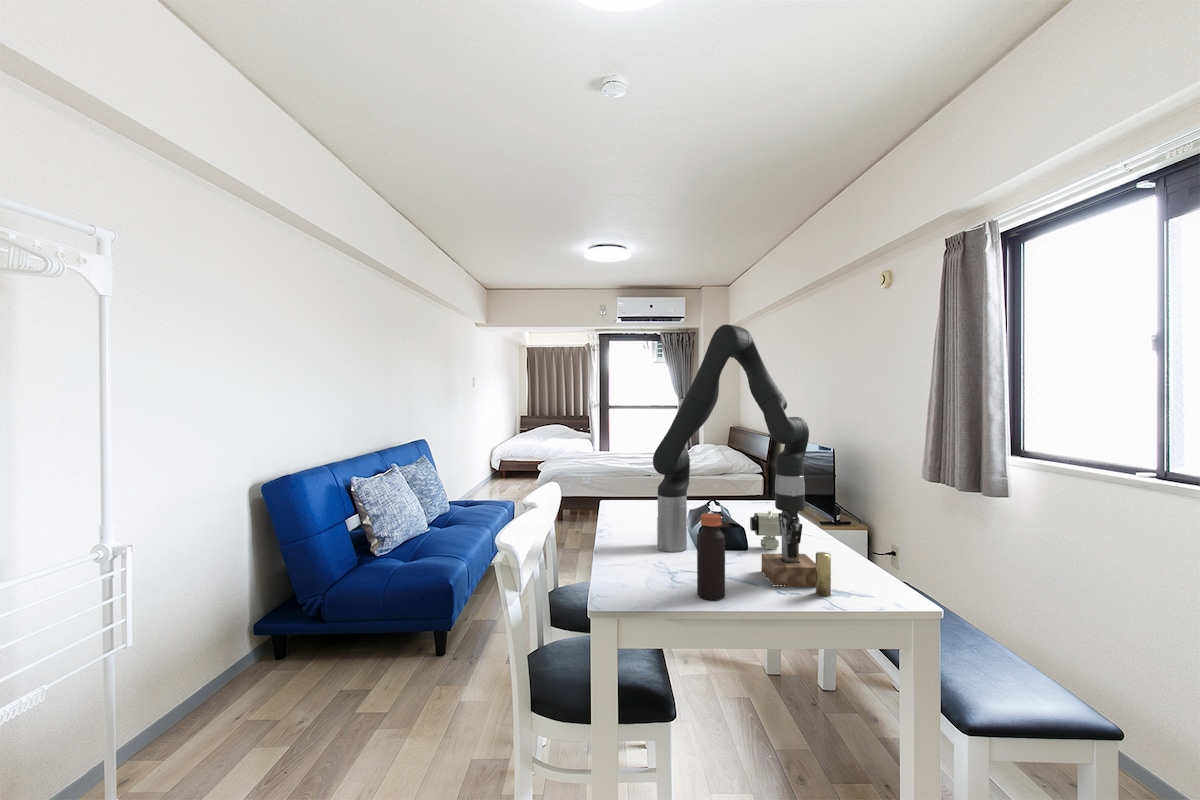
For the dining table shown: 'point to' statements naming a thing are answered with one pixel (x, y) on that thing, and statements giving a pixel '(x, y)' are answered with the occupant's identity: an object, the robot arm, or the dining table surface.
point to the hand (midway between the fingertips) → (790, 555)
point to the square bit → (785, 549)
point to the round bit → (823, 574)
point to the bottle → (711, 558)
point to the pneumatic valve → (766, 528)
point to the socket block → (789, 570)
